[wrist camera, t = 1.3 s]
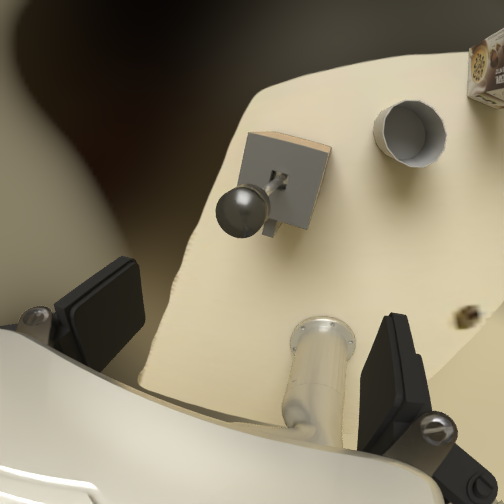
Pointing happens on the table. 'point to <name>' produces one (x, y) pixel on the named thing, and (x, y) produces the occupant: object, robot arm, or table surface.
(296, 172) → the tan lever base
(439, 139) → the cup
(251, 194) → the lever with black knob
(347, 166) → the table surface
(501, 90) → the coffee box
